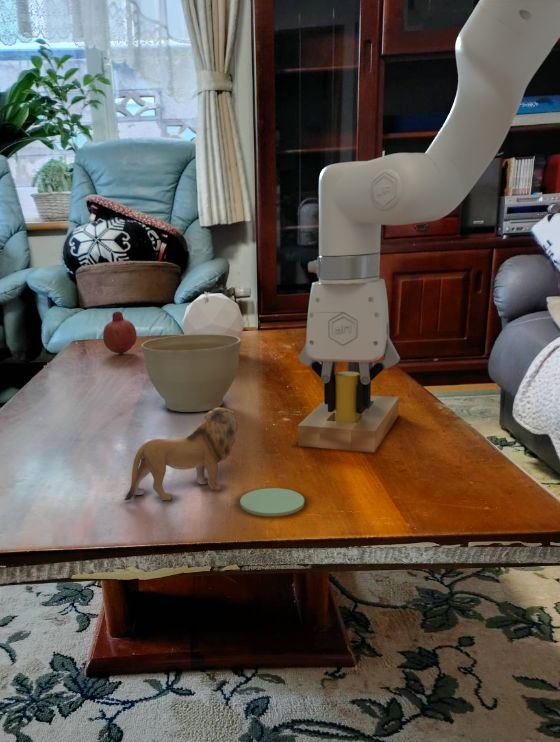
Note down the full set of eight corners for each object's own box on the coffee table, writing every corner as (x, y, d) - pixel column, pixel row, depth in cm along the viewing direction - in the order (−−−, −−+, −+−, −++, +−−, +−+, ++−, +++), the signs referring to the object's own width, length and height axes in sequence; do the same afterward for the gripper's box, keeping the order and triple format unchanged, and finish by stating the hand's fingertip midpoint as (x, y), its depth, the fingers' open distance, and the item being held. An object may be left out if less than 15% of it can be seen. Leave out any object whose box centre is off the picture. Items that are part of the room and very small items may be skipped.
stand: (398, 416, 102) (399, 397, 101) (374, 453, 88) (374, 430, 87) (331, 412, 107) (331, 393, 105) (297, 446, 92) (297, 425, 91)
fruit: (119, 358, 157) (115, 314, 154) (97, 355, 163) (93, 312, 159) (145, 352, 163) (141, 309, 159) (123, 349, 168) (119, 308, 164)
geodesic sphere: (245, 334, 143) (243, 274, 147) (178, 337, 144) (177, 278, 148) (245, 365, 158) (243, 310, 161) (184, 368, 158) (183, 313, 162)
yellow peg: (360, 432, 94) (362, 371, 91) (355, 439, 92) (357, 376, 89) (337, 430, 96) (338, 371, 93) (332, 437, 93) (332, 376, 90)
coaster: (312, 495, 76) (312, 491, 76) (293, 520, 70) (293, 516, 70) (253, 488, 79) (253, 485, 79) (230, 511, 73) (230, 508, 73)
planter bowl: (261, 407, 111) (259, 340, 107) (172, 425, 104) (167, 355, 100) (213, 389, 125) (210, 329, 121) (132, 404, 118) (126, 341, 114)
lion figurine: (226, 470, 85) (223, 400, 82) (249, 483, 80) (246, 409, 77) (116, 498, 78) (108, 423, 75) (134, 513, 74) (127, 434, 71)
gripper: (277, 274, 86) (280, 414, 93) (411, 270, 79) (404, 421, 86) (295, 269, 93) (297, 400, 99) (421, 264, 86) (414, 406, 92)
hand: (347, 409), depth 92 cm, fingers closed on yellow peg, 3 cm apart
